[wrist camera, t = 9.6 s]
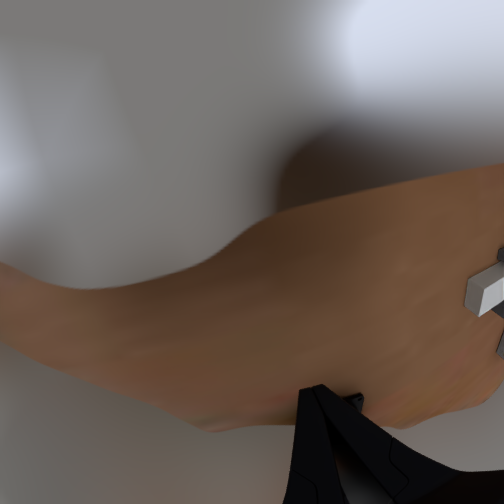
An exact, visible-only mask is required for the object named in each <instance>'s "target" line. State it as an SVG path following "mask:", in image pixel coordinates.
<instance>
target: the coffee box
mask: <svg viewBox="0 0 504 504" xmlns="http://www.w3.org/2000/svg"><path fill="white" fill-rule="evenodd" d="M497 354H498V355H500V356H501V357H502V358H503V359H504V333H503V336H502V338H501V341H500V344H499V347H498V349H497Z"/></svg>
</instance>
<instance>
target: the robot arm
mask: <svg viewBox="0 0 504 504" xmlns="http://www.w3.org/2000/svg"><path fill="white" fill-rule="evenodd" d="M363 401H364V396H363V394H358V395H355V396H352V397H348V398H345V399H342V398H340V397H339V396H338V395H336V394H335V393H334V392H333V391H331V390H330V389H329V388H327V387H326V386H325V385H323V384H320V385H316V386H312V387H311V388H310V387H308V388H304V389H300V390H299V396H298V406H297V416H296V425H295V434H294V442H293V450H292V458H291V465H290V472H289V479H288V484H287V489H286V493H285V497H284V500H283V503H282V504H504V470H495V471H478V472H465V471H459V470H455V469H452V468H450V467H447V466H445V465H443V464H441V463H439V462H436V461H434V460H432V459H430V458H428V457H426V456H424V455H422V454H420V453H418V452H416V451H414V450H412V449H411V448H409V447H408V446H406V445H405V444H403V443H401V442H400V441H399V440H397V439H396V438H394V437H393V438H392V436H391V435H390V434H389V433H387V432H386V431H384V430H383V429H382V428H380V427H379V426H378V425H376V424H375V423H373V422H372V421H371V420H369V419H368V418H367V417H365V416H364V415H363V414H361V410H362V406H363Z"/></svg>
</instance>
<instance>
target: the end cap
mask: <svg viewBox="0 0 504 504" xmlns="http://www.w3.org/2000/svg"><path fill="white" fill-rule="evenodd" d="M498 260H500V261H502V262H504V248H502V249H499V253H498ZM491 310H493V311H494V312H495V313H497V314H498V315H499V316H501V317H502V318H503V319H504V300H503V301H502V302H500V303H499V304H497V305H496V306H494V307H493V308H491Z"/></svg>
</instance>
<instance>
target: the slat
mask: <svg viewBox="0 0 504 504" xmlns="http://www.w3.org/2000/svg"><path fill="white" fill-rule="evenodd" d="M503 300H504V262H502V261H500V262H498V263H497V264H495V265H493V266H491V267H490V268H488V269H486V270H484V271H482V272H480V273H478V274H476V275H475V276H473V277H471V278H469V279H468V284H467V291H466V297H465V303H464V306H465V307H466V308H468V309H469V310H470V311H471V312H473V313H474V314H475V315H477V316H478V317H479V316H481V315H482V314H484V313H485V312H487V311H488V310H490V309H491V308H493V307H494V306H496V305H497V304H499V303H500V302H502V301H503Z"/></svg>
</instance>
